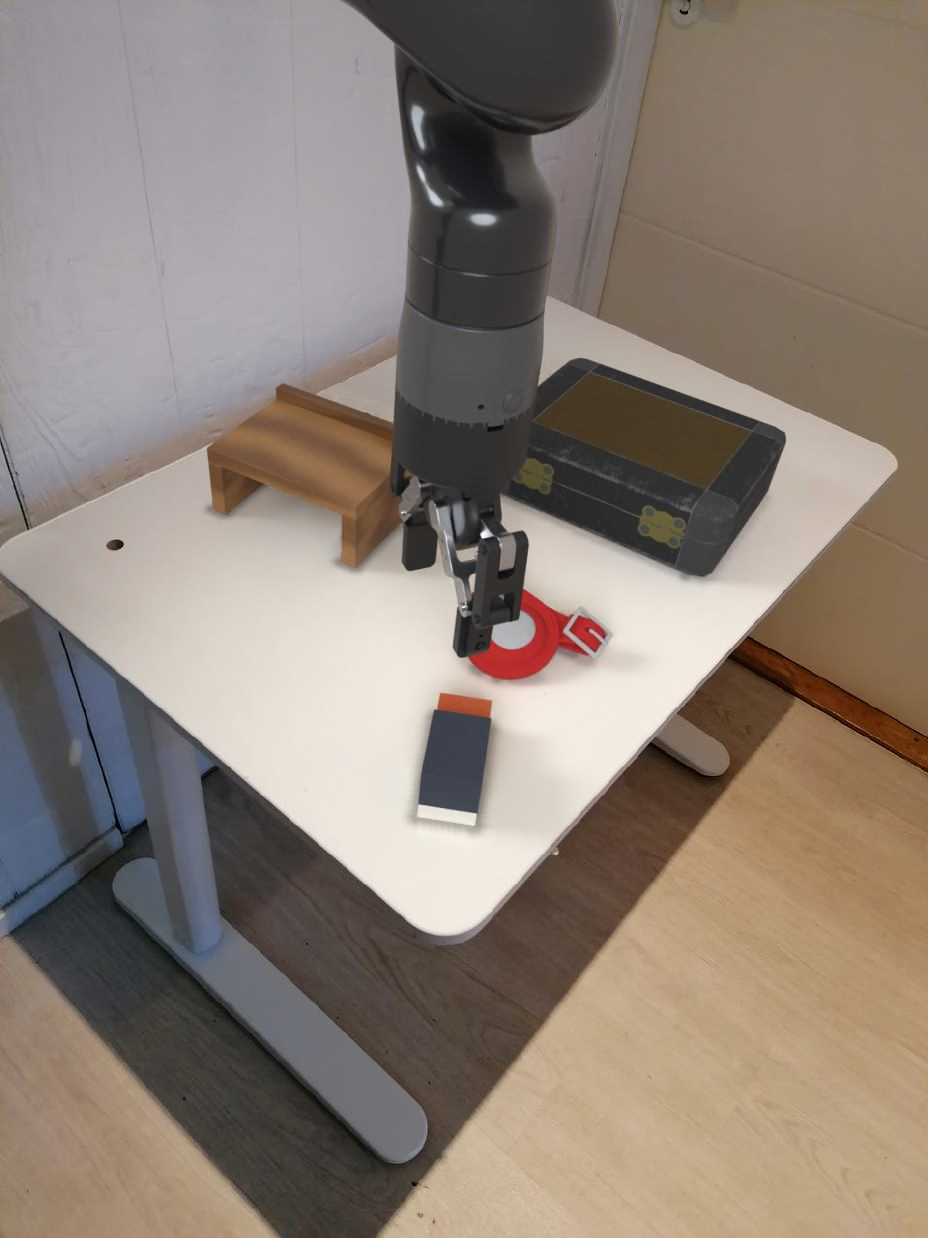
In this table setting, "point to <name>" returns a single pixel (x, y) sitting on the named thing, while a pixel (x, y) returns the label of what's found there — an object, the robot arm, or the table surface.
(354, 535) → the shoe shelf
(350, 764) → the table surface
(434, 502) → the robot arm
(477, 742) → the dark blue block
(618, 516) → the cash box
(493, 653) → the tracker holder
